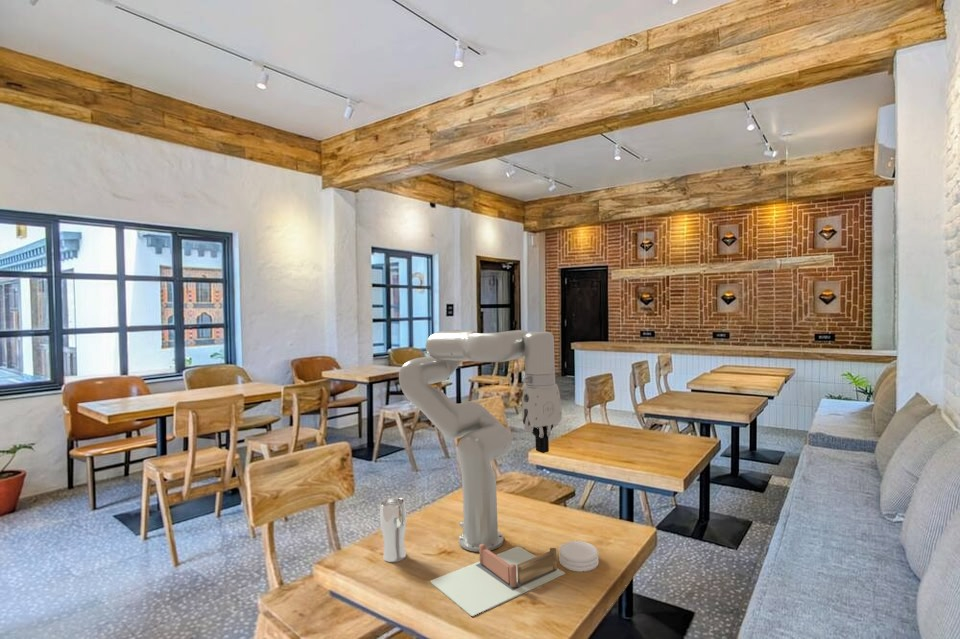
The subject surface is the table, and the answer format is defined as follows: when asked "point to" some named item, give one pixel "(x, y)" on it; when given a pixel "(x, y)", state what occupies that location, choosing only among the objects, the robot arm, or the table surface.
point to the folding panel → (498, 566)
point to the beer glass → (393, 528)
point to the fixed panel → (537, 566)
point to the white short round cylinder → (578, 556)
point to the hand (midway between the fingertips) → (542, 451)
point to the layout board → (488, 583)
